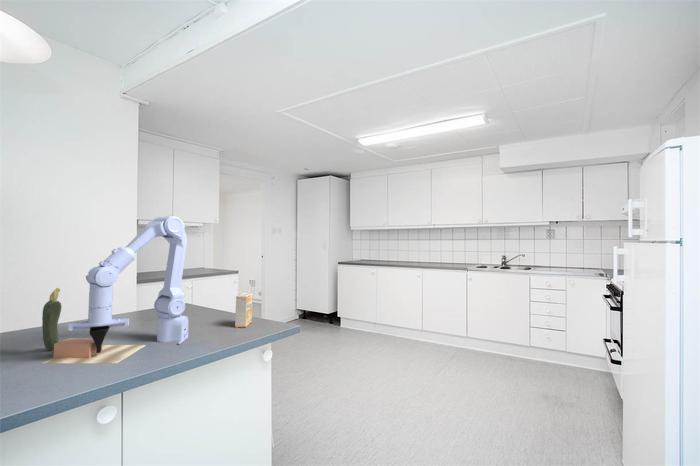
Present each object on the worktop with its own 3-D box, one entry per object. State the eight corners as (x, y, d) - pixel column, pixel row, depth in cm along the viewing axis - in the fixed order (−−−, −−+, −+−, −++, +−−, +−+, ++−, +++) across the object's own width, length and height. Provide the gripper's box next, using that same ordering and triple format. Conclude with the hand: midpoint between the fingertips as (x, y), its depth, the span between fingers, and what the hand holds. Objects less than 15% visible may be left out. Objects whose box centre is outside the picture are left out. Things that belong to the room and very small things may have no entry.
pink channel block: (102, 351, 104) (102, 338, 104) (89, 358, 98) (89, 344, 98) (68, 351, 103) (69, 338, 103) (53, 357, 98) (54, 343, 98)
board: (146, 347, 111) (146, 337, 111) (116, 365, 95) (117, 354, 95) (82, 347, 109) (82, 337, 109) (41, 366, 93) (41, 354, 93)
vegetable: (43, 356, 101) (46, 289, 101) (38, 353, 103) (41, 288, 103) (61, 352, 104) (64, 288, 105) (56, 349, 107) (59, 286, 107)
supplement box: (246, 328, 138) (247, 296, 138) (234, 327, 138) (235, 295, 138) (252, 323, 146) (253, 293, 146) (241, 322, 146) (242, 292, 146)
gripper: (130, 302, 107) (129, 345, 107) (73, 305, 100) (71, 351, 100) (128, 306, 101) (126, 351, 101) (66, 310, 94) (64, 358, 94)
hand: (98, 352), depth 100 cm, fingers closed
